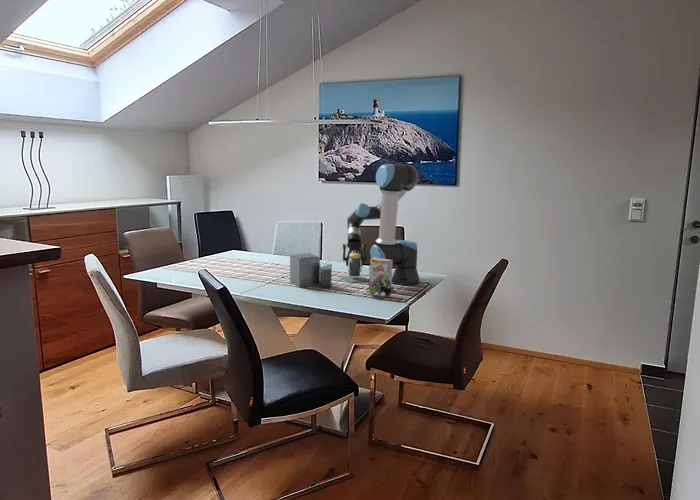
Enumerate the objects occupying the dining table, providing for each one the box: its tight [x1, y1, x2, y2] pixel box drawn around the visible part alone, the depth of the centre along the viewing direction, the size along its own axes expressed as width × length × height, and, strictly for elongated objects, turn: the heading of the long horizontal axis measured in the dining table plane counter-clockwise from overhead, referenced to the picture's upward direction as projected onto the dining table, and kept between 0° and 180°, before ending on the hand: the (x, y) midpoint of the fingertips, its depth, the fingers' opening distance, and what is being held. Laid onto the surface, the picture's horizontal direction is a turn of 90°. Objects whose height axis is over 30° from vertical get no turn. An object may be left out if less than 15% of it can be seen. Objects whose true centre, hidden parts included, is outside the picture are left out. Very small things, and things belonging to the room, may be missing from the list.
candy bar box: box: [368, 257, 393, 292], centre depth 267 cm, size 11×5×16 cm, turn 59°
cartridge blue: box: [319, 263, 333, 289], centre depth 272 cm, size 6×6×12 cm
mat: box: [339, 275, 369, 284], centre depth 290 cm, size 12×12×1 cm
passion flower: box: [366, 279, 397, 299], centre depth 254 cm, size 11×11×12 cm
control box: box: [289, 252, 321, 288], centre depth 278 cm, size 12×12×16 cm
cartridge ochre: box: [348, 252, 362, 276], centre depth 289 cm, size 6×6×12 cm
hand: (354, 270), depth 286 cm, fingers closed on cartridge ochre, 6 cm apart
